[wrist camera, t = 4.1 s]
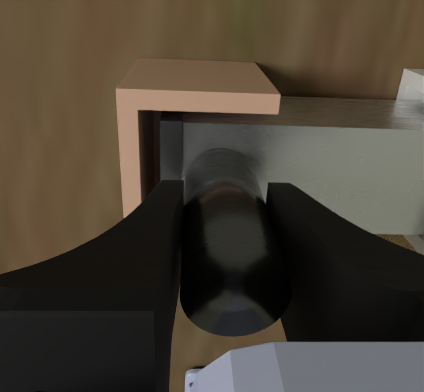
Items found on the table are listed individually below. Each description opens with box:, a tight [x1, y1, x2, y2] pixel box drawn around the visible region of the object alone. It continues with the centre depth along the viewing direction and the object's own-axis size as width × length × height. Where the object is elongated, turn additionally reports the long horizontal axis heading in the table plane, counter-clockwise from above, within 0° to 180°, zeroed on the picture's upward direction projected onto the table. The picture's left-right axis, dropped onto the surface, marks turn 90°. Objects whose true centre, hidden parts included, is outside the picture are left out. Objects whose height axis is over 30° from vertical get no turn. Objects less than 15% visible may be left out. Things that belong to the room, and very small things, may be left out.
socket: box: [116, 58, 281, 218], centre depth 16 cm, size 6×5×6 cm
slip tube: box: [160, 96, 424, 336], centre depth 13 cm, size 4×12×10 cm, turn 87°
